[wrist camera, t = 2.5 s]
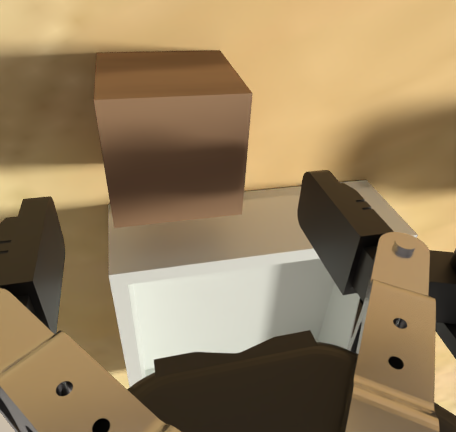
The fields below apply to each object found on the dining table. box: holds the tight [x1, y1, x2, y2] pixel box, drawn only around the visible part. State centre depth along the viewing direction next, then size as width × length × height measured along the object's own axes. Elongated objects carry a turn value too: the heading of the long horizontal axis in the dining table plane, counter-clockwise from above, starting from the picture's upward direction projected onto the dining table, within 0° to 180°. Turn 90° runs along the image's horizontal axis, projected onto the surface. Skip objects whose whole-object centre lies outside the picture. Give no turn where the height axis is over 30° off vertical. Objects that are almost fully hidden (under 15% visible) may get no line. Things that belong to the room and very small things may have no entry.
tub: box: [108, 180, 417, 387], centre depth 24 cm, size 14×14×5 cm
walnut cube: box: [94, 51, 252, 228], centre depth 16 cm, size 5×5×5 cm
